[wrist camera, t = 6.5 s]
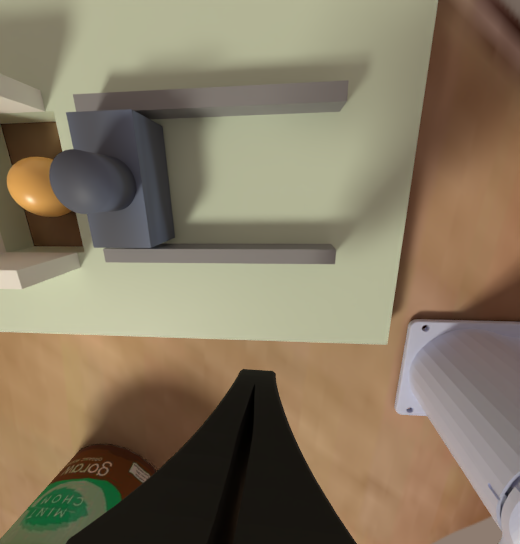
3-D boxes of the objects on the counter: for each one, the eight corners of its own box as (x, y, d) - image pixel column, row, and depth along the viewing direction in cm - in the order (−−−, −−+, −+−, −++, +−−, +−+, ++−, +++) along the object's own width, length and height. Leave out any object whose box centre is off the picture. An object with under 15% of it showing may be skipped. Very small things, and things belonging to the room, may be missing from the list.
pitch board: (424, -32, 13) (475, -114, 9) (376, 329, 19) (397, 359, 15) (-78, 10, 15) (-183, -43, 12) (19, 318, 21) (-32, 343, 18)
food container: (143, 422, 23) (46, 582, 14) (171, 472, 25) (102, 645, 15) (34, 446, 25) (-114, 599, 16) (67, 490, 27) (-51, 653, 17)
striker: (162, 126, 14) (99, 91, 9) (175, 237, 16) (127, 257, 11) (109, 128, 14) (21, 96, 9) (127, 237, 16) (61, 257, 11)
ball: (86, 159, 17) (45, 151, 14) (97, 214, 18) (61, 219, 15) (33, 160, 17) (-22, 152, 14) (46, 215, 18) (-1, 220, 15)
